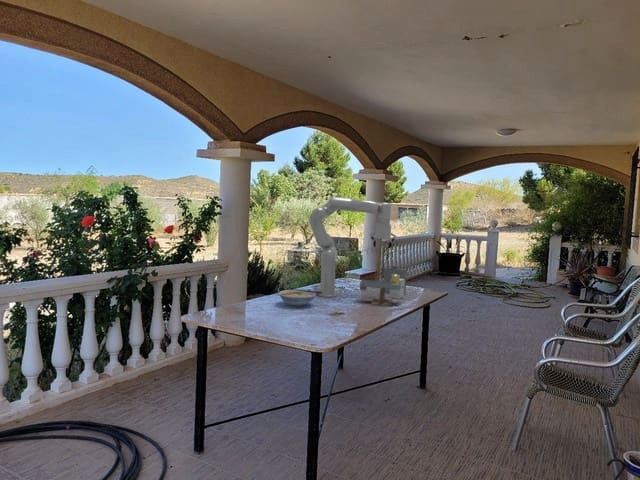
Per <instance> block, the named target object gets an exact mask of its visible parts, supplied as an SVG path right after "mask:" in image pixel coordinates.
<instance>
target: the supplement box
mask: <svg viewBox="0 0 640 480" xmlns="http://www.w3.org/2000/svg"><path fill="white" fill-rule="evenodd" d="M390 282H391V279H390ZM399 283H401V287H400V290H393V289H390V293H389V299H398V300H400V299H402V298H404V297H405V294H404V283H405V279H400V280H399Z"/></svg>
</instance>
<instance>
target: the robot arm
mask: <svg viewBox="0 0 640 480" xmlns="http://www.w3.org/2000/svg"><path fill="white" fill-rule="evenodd" d="M391 209H392V204H391V203H390V202H376V201H370V200H362V199H361V200H360V199H356V198H352V197H351V198H350V197H342V196H341V197H340V196H331V197H330V198H328V201H327V202H325V204H323V205H322V206H317V207H316V208H315V209H313V210H312V212H311V213H310V215H309V224H310V229H311V230H312V233H313V236H314V239H315V243H316V244H317V246H318V248H319V247H320V248H321V250H322V252H321V255H320V264H321V265H320V266H321V267H320V287H319V288H314V289H313V291H316V292H322V293H321V294H319V293H317V294H318V296H319V297H323V298H324V297H325V298H333V297H335V298H336V297H337V296H338V293H336V291H335V290H336V259H337V258H338V251H337V247H336V245H335V242H334V240H333V237H332V235H330V234H329V233H327V230H326V228H325V225H324V223H323V220H325V219H327V218H329V216H331V215H333V214H334V213H335V212H337V211H345V212H358V213H365V214H378V218H377V219H375V221H376V222H377V223H376V226H375V231H374V232H371V233H370V234H369V236H370V239H371V240H372V243H373V244H372V245H373V246H374V247H373V248H376V246H377V239H380V240H388V241H389V243H388V249H391V248H392V242H394V241H395V239H396V238H397V235H395V234H394V233H393V232H392V226H391V225H392V224H391ZM373 235H374V236H373ZM392 237H393V238H392Z"/></svg>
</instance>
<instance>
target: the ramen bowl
mask: <svg viewBox="0 0 640 480" xmlns="http://www.w3.org/2000/svg"><path fill="white" fill-rule="evenodd" d="M318 293H319V294H321V293H322V292H316V291H314V290H307V289H293V288H288V289H284V290H281V291H278V295H279V297H280V299H281V300H282V302H284V303H286V304H289V305H291V306H293V307H302V306H304V305H307V304H309V303H310V302H312V301H313V300H314V299H315V297H316V295H317V294H318Z"/></svg>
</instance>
